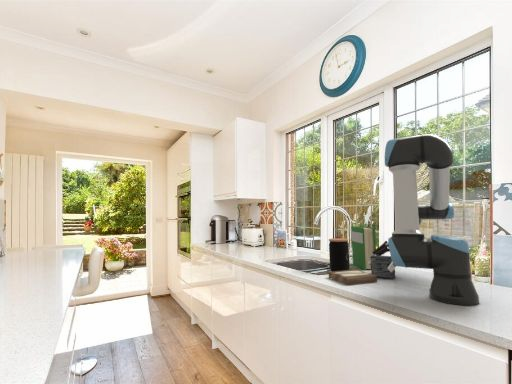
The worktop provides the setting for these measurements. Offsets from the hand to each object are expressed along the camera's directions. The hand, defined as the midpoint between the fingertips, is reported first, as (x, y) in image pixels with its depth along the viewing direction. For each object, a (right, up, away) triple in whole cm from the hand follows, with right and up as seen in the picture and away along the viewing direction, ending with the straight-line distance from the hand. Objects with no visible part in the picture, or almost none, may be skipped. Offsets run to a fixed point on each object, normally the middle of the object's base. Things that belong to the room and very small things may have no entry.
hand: (379, 267), depth 141 cm
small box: (+2, -5, 0) cm, 5 cm away
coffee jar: (-15, -6, +16) cm, 23 cm away
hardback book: (+3, -7, +26) cm, 27 cm away
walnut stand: (-15, -5, -4) cm, 17 cm away
